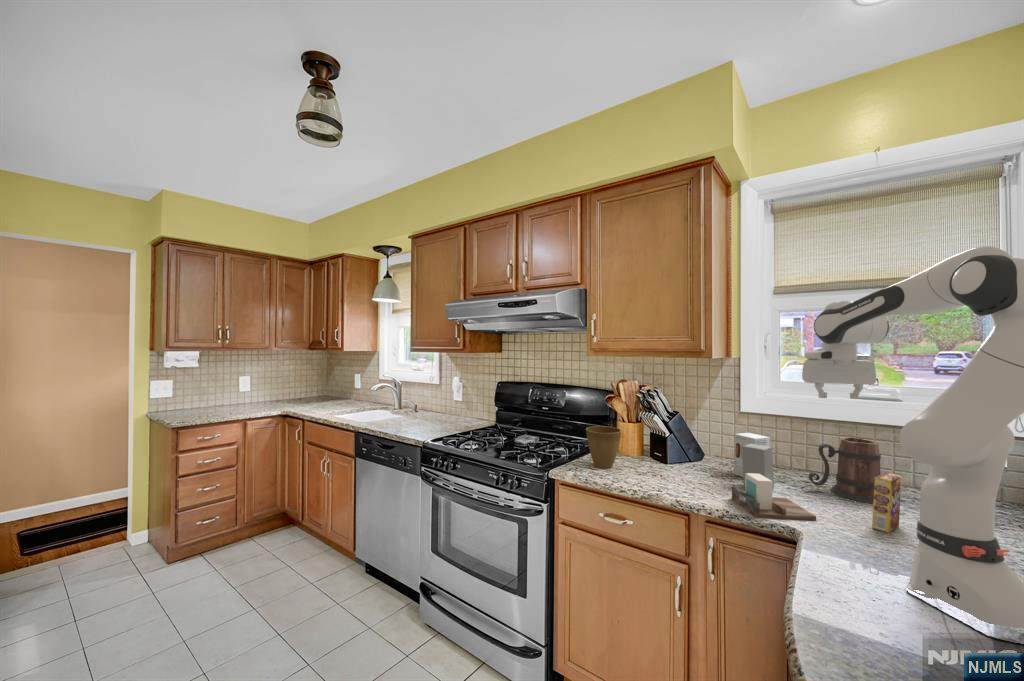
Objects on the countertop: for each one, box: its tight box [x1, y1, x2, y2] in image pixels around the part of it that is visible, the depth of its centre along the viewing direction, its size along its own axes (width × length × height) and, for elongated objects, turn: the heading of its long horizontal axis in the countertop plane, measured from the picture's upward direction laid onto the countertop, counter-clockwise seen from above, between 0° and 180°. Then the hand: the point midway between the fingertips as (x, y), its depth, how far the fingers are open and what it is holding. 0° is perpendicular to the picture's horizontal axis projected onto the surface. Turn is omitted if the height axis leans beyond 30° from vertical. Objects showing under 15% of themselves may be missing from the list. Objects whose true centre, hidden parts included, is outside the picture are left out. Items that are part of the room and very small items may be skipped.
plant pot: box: [585, 425, 622, 470], centre depth 184 cm, size 15×15×16 cm
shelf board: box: [731, 485, 817, 521], centre depth 139 cm, size 16×18×4 cm
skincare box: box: [742, 444, 775, 491], centre depth 160 cm, size 8×7×16 cm
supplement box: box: [733, 432, 771, 478], centre depth 174 cm, size 10×9×17 cm
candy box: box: [871, 472, 902, 534], centre depth 126 cm, size 9×4×15 cm, turn 123°
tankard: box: [808, 436, 882, 505], centre depth 155 cm, size 24×17×20 cm
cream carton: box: [744, 473, 773, 510], centre depth 139 cm, size 5×8×9 cm, turn 177°
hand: (838, 398), depth 133 cm, fingers open, 8 cm apart
